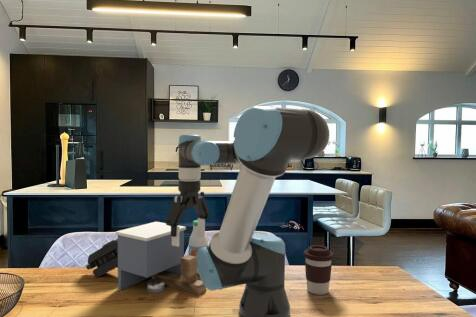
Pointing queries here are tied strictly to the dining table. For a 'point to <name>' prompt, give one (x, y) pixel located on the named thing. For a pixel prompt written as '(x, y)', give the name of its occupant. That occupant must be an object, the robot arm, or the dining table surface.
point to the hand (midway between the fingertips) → (188, 241)
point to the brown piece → (184, 276)
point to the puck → (155, 285)
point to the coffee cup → (318, 269)
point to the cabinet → (147, 252)
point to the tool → (104, 258)
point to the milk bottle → (196, 241)
